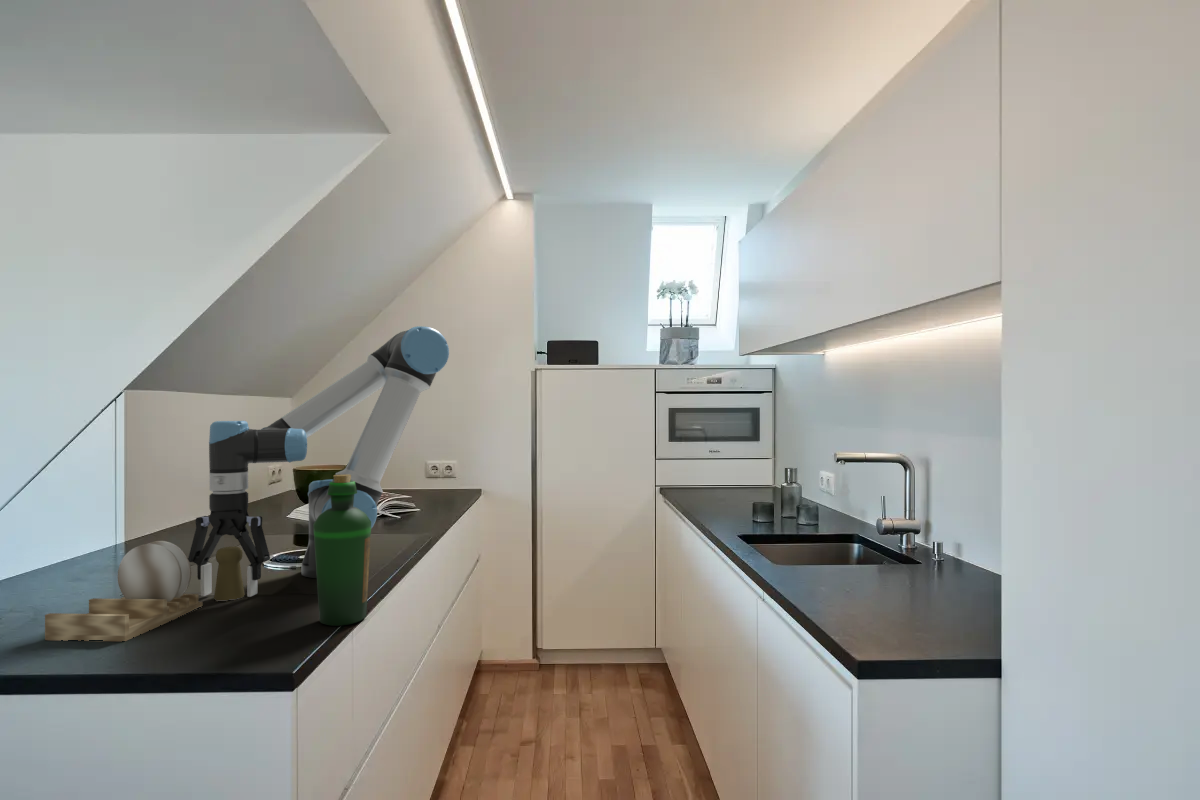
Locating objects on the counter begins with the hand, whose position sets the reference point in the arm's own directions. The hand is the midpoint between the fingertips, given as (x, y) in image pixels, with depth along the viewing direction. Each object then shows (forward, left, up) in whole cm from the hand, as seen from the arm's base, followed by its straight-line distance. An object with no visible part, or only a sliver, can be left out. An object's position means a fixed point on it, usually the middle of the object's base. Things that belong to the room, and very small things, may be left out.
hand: (229, 594), depth 156 cm
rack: (+9, +18, -1) cm, 20 cm away
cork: (0, 0, -1) cm, 1 cm away
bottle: (-32, +15, -1) cm, 35 cm away
